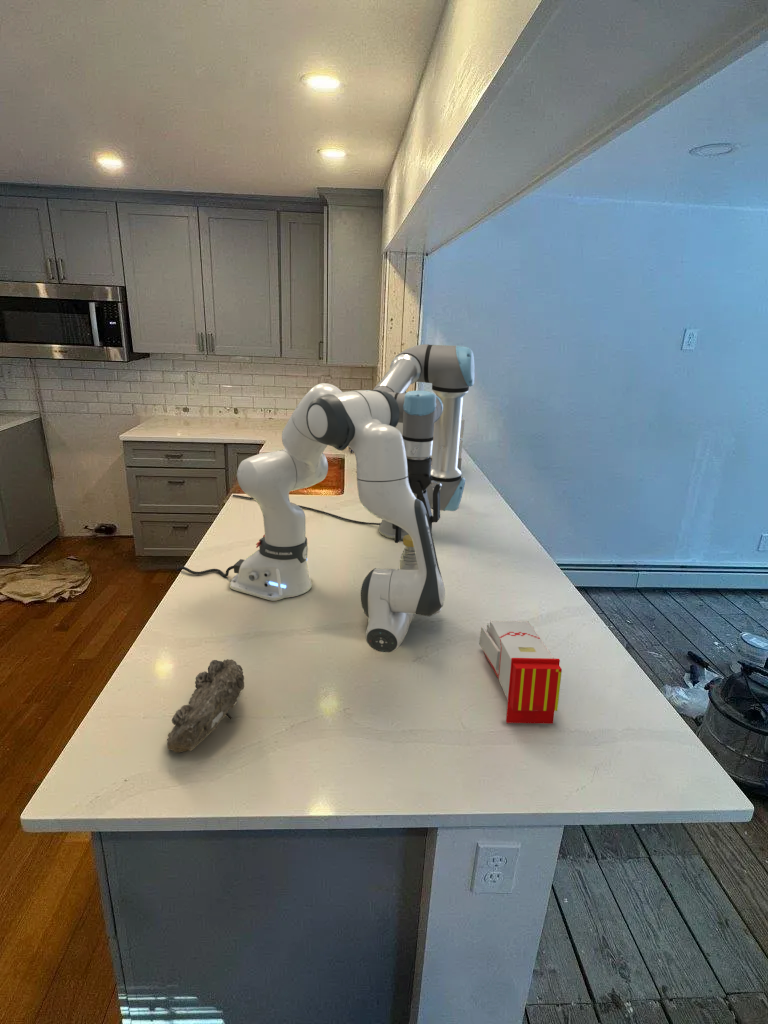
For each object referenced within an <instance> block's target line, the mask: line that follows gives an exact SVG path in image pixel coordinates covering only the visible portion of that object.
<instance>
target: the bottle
mask: <svg viewBox="0 0 768 1024" xmlns="http://www.w3.org/2000/svg"><path fill="white" fill-rule="evenodd" d="M398 569H403V570H419V569H418V564H417V559H416V555H415V550H414V547H407V546H405V545H404V548H403V550H402V553H401V556H400V559H399V568H398Z"/></svg>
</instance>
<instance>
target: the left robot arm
mask: <svg viewBox="0 0 768 1024" xmlns="http://www.w3.org/2000/svg"><path fill="white" fill-rule="evenodd" d="M368 390H369V391H368ZM398 421H399V407H398V404H397V402H396V400H395V398H394V397H393V396H392V395H391V394H389V393H387V392H385V391H381V390H373V389H356V390H354V389H353V390H349V391H342V390H341V389H340V388H339V387H337V386H336V385H334V384H332V383H327V382H321V383H318V384H316V385H314V386H312V387H311V388H310V389H309V390H308V392H307V393H306V394H305V395H304V396H303V397H302V398H301V399H300V401H299V403H297V405H296V407H294V410H293V412H292V413H291V415H290V417H289V419H288V421H287V422H286V423H285V425H284V427H283V429H282V431H281V442H282V445H283V447H284V448H283V449H280V450H279V449H278V450H274V451H268V452H262V453H257V454H254V455H252V456H249V457H247V458H245V459H243V460H242V461H241V462H240V463H239V465H238V467H237V471H236V480H237V483H238V486H239V488H240V489H241V490H242V492H243V493H244V494H246V495H247V497H251V498H253V499H254V501H255V502H256V503H257V504H258V506H259V509H260V510H261V513H262V518H263V528H264V530H263V531H264V534H263V535H262V537H261V538H260V539H259V540H258V542H257V543H256V544H255V545H256V546H255V547H256V549H257V548H259V549H258V550H255V552H253V553H252V554H250V555H249V556H248V557H246V558H245V559H241V558H240V559H239V560H238V561H236V562H235V563H234V564H233V565H230V566H229V567H227V568H226V570H225V572H223V571H222V570H221V569H218V568H209V569H205V570H201V571H196V570H195V571H194V570H192V569H190V568H188V567H186V566H183V565H181V566H179V567H177V568H176V571H177V572H179V571H181V570H184V571H186V572H187V573H189V574H191V575H196V576H197V575H205V574H210V573H218V574H220V576H221V577H223V578H226V577H228V576H229V574H230V571H231V570H233V573H234V574H235V575H234V576H233V577H232V579H231V581H230V583H229V585H230V586H229V589H231V590H234V591H237V592H240V593H244V594H247V595H251V596H253V597H257V598H261V599H265V600H266V601H267V600H268V601H271V602H276V601H280V600H283V599H285V598H286V599H287V598H294V597H297V596H301V595H303V594H305V593H307V592H309V590H311V588H312V586H313V583H312V580H311V576H310V573H309V567H308V554H309V546H308V538H307V535H306V534H307V527H306V526H307V525H306V524H307V523H306V522H307V521H306V520H307V519H306V517H307V515H306V513H305V511H304V510H303V508H301V507H300V506H301V505H300V506H298V505H299V504H296V503H294V502H292V501H291V500H290V492H293V491H298V490H303V489H307V488H310V487H314V486H315V485H316V484H319V483H321V482H322V481H324V480H325V479H326V478H327V475H328V473H329V463H328V462H329V461H328V459H327V457H326V455H325V453H324V452H325V450H326V449H327V447H328V446H329V447H333V448H335V450H337V451H340V452H341V451H344V450H346V449H347V448H349V447H350V448H351V449H352V450H353V451H352V453H353V454H354V457H355V461H356V462H355V463H356V485H357V494H358V499H359V503H360V504H361V505H362V506H363V508H364V509H365V510H366V511H367V512H368V513H370V514H371V515H372V516H374V517H376V518H378V519H379V520H381V521H382V520H385V521H388V522H390V523H393V524H395V525H397V526H399V527H400V528H402V529H404V530H405V531H406V532H407V533H408V534H409V535H410V537H411V538H412V541H413V545H414V550H415V555H416V559H417V564H418V569H419V570H403V569H399V568H392V567H391V568H389V567H387V568H386V567H375V568H372V569H371V570H370V571H369V572H368V573H367V575H366V576H365V578H364V579H363V581H362V584H361V587H360V604H361V608H362V610H363V613H364V614H365V616H366V617H367V618H368V619H367V620H368V621H367V626H366V631H365V641H366V643H367V644H368V646H369V647H370V648H371V649H373V650H375V652H376V651H377V652H380V653H392V652H394V651H396V650H397V649H398V648H399V647H400V646H401V644H402V643H403V642H404V640H405V637H406V636H407V633H408V631H409V628H410V625H411V624H412V622H413V619H414V616H415V615H419V616H425V617H431V616H433V615H436V614H439V613H441V612H442V608H443V607H444V605H445V600H446V587H445V582H444V581H443V577H442V572H441V570H440V567H439V562H438V557H437V552H436V548H435V547H436V546H435V542H434V537H433V531H432V532H431V527H430V523H429V519H428V515H427V511H426V508H425V506H424V504H423V502H422V501H420V500H419V499H417V498H416V497H415V495H414V494H413V492H412V490H411V488H410V485H409V480H408V465H407V456H406V450H405V445H404V441H403V437H402V434H401V432H400V431H399V430H398V429H397V428H395V427H396V426H397V424H398ZM348 446H349V447H348Z"/></svg>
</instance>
